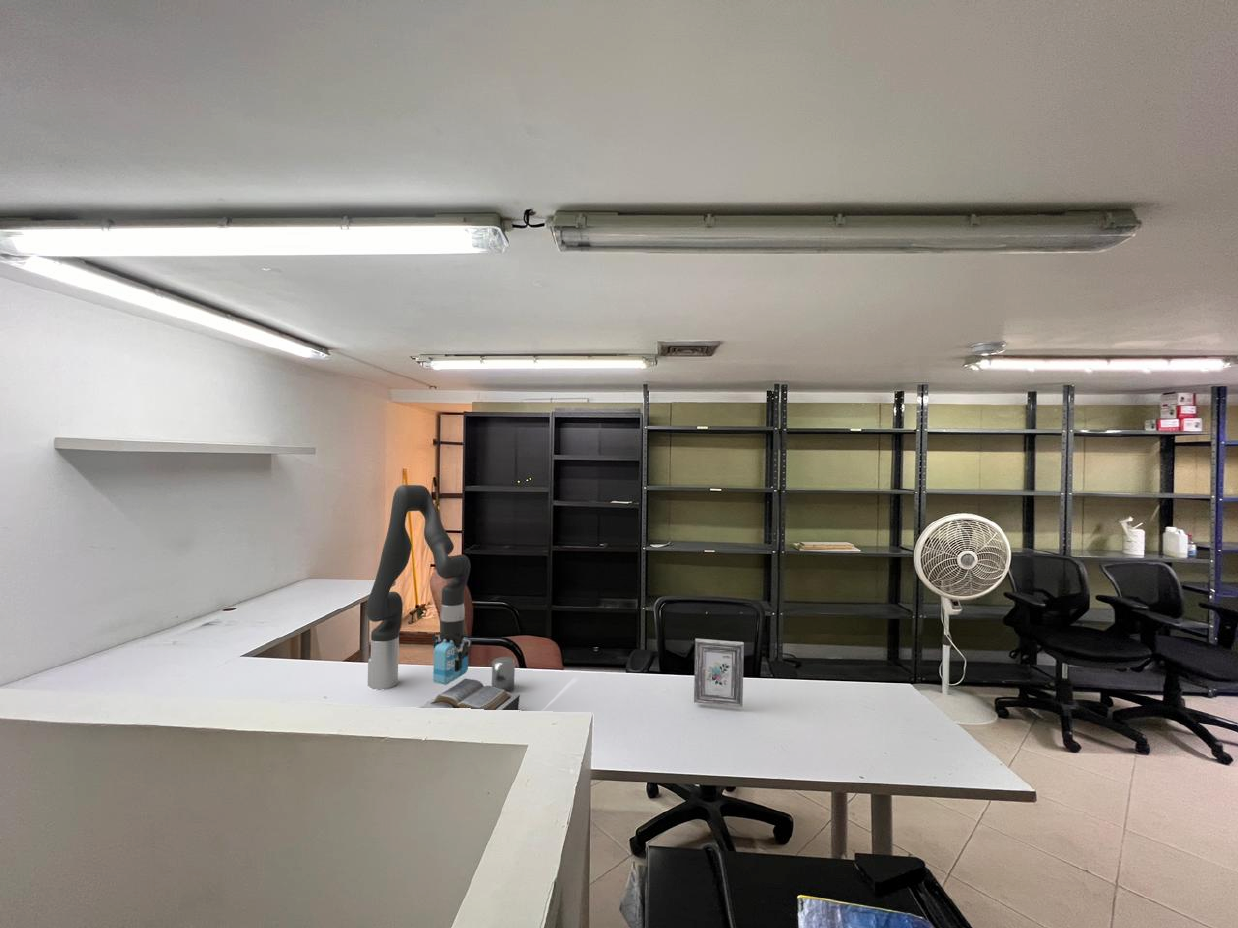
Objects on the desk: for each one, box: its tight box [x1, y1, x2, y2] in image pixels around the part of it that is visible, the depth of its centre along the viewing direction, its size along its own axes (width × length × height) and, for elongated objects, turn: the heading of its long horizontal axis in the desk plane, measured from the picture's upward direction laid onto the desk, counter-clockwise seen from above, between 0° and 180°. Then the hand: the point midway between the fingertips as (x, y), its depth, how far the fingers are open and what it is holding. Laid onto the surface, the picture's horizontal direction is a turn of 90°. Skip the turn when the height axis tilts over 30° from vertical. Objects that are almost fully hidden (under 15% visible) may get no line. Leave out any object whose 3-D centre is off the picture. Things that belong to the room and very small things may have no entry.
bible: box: [419, 678, 521, 711], centre depth 155 cm, size 23×27×10 cm
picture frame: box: [693, 638, 745, 708], centre depth 170 cm, size 16×2×22 cm, turn 81°
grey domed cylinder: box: [491, 656, 516, 693], centre depth 177 cm, size 8×8×10 cm
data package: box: [432, 636, 469, 686], centre depth 159 cm, size 12×4×12 cm, turn 161°
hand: (451, 669), depth 159 cm, fingers closed on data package, 4 cm apart
